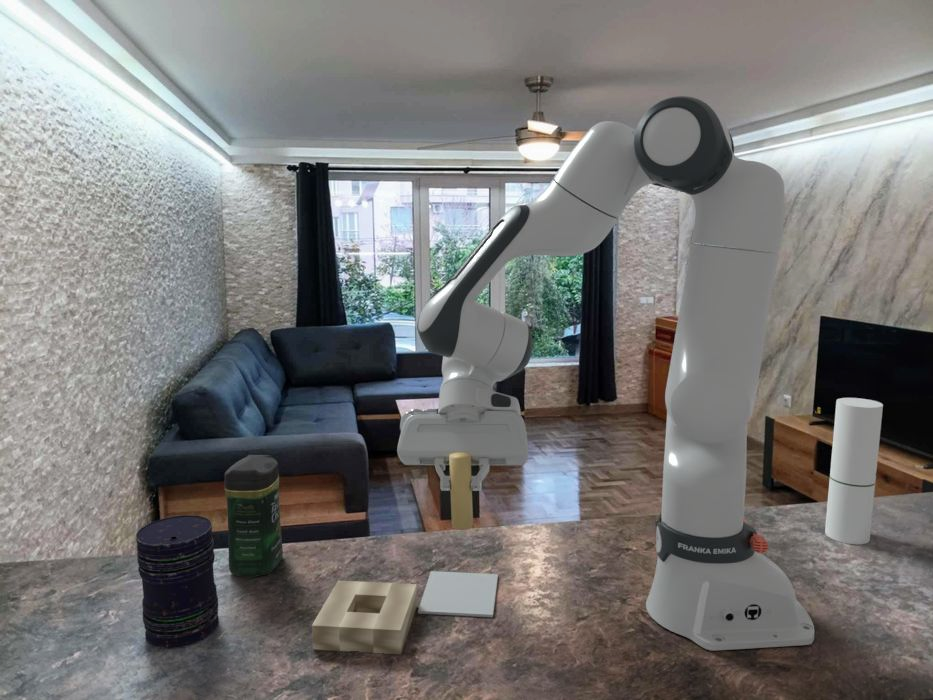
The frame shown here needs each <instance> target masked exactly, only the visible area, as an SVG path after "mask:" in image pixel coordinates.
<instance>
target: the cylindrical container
mask: <svg viewBox="0 0 933 700" xmlns="http://www.w3.org/2000/svg"><path fill="white" fill-rule="evenodd" d="M883 408H884V404H883V403H882V402H880V401H878V400H873V399H866V398H862V397H861V398H858V397H841V398H837V399H836V401H835V411H834V412H835V413H834V426H833V436H832V446H831V447H832V449H831V459H830V469H829V470H830V471H829V472H830V473H829V480H828V491H827V492H828V493H827V505H826V506H827V507H826V515H825V516H826V517H825V526H824V527H825V528H824V533H825V535H826V536H827V537H829V538H830V539H832V540H834V541H837V542H840V543H844V544H847V545H858V546H859V545H865V544H867V543H869V542H870V540H871V529H872V521H873V520H872V519H873V511H874V510H873V509H874V501H875V489H876V479H877V468H878V459H879V449H880V441H881V440H880V439H881V430H882V419H883Z"/></svg>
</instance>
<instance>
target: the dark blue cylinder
mask: <svg viewBox="0 0 933 700" xmlns="http://www.w3.org/2000/svg"><path fill="white" fill-rule="evenodd" d="M135 539H136V540H135V541H136V557H137V558H136V560H137V564H138V570H137V571H138V573H139V577H140V578H141V582H142V584H141V585H142V592H143V594H142V595H143V597H142V601H141V602H142V613H141V615H142V622H143V625H144V630H145V632H144V635H145V641H146V643H147V644H148V645H149V646H151V647H153V648H157V649H161V650H176V649H182V648H185V647H190V646H193V645H195V644H197V643H200V642H203V641H204V640H206V639H207V638H209V637H210V636H212V635H213V633H215V632H216V630H217V629H218V627H219V624H220V621H219V620H220V618H219V597H218V591H217V585H216V583H215V575H214V563H215V552H214V550H215V543H214V542H215V541H214V537H213V525H212V521H211V520H210V519H208V518H207V517H204V516H200V515H193V514H189V515H187V514H186V515H183V514H182V515H175V516H169V517H165V518H162V519H158V520H154V521H153V522H149V523H148V524H146V525H144V526H142V527H141V528H139V530H138V531H137V532H136V535H135Z"/></svg>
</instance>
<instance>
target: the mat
mask: <svg viewBox="0 0 933 700" xmlns="http://www.w3.org/2000/svg"><path fill="white" fill-rule="evenodd" d="M498 579H499V574H497V573H480V572H474V573H473V572H460V571H459V572H458V571H457V572H455V571H434V570H433V571H432V570H431V571H430V573H429V576H428V579H427V582H426V585H425V588H424V591H423V594H422V597H421V600H420V604H419V607H418V609H417V614H420V615H421V614H422V615H440V616H456V617H457V616H461V617H479V618H494V611H495V605H496V597H497V596H496V595H497V587H498Z"/></svg>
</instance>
